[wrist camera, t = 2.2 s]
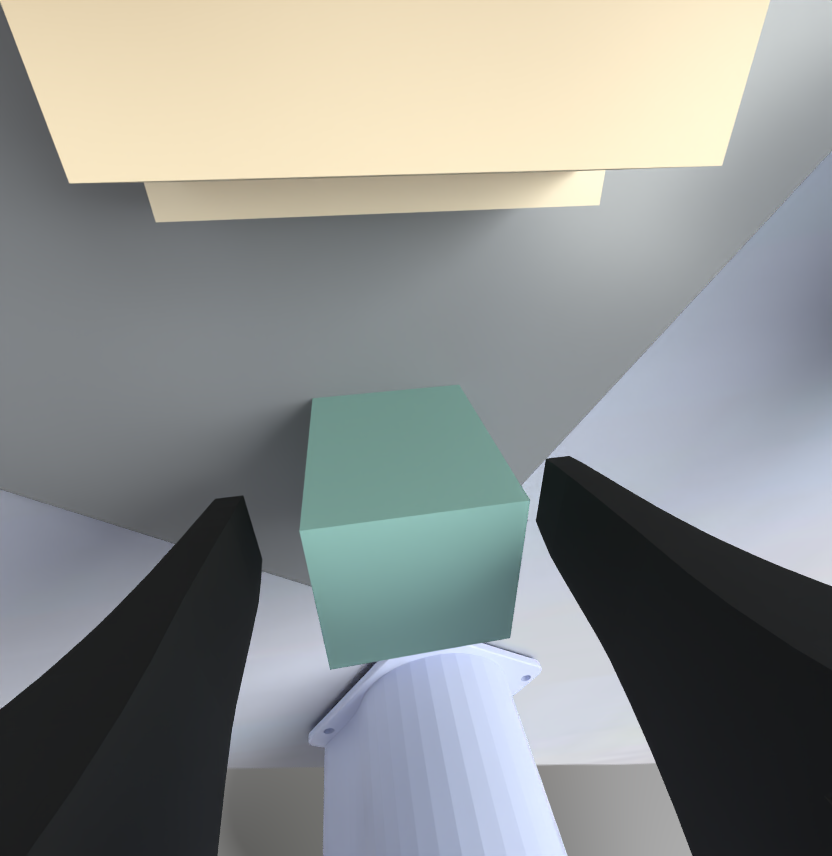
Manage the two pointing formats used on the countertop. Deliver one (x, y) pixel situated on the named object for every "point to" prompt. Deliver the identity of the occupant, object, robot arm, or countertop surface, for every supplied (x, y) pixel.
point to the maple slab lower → (370, 195)
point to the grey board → (348, 308)
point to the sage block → (409, 525)
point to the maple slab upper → (383, 85)
